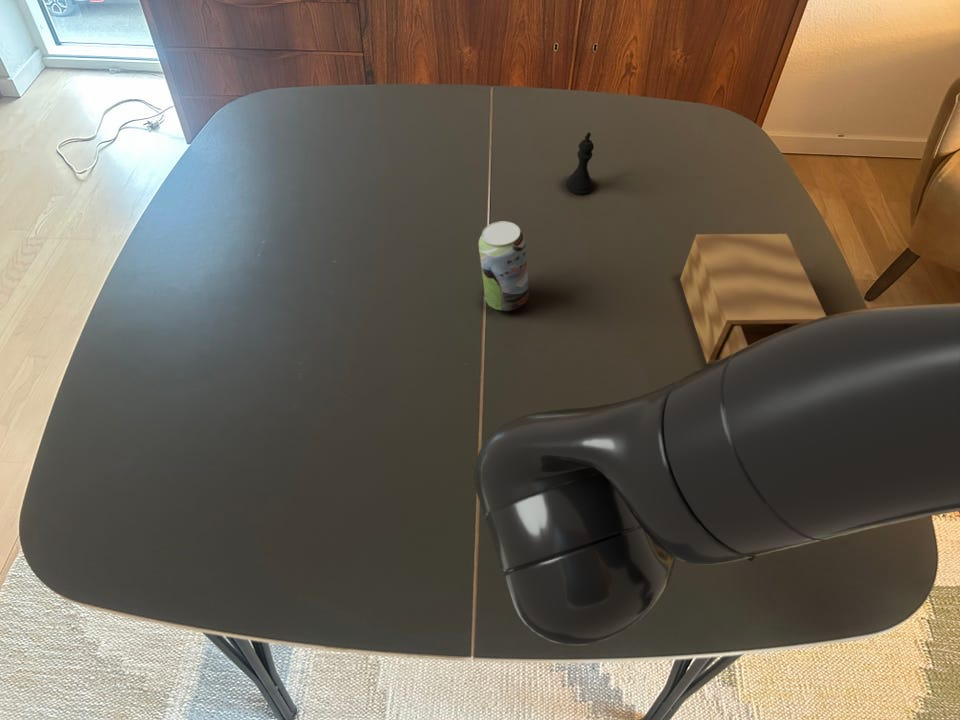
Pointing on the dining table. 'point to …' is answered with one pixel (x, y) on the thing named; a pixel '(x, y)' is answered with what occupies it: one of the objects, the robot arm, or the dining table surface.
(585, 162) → the chess piece
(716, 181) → the dining table surface
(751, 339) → the drawer
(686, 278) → the cabinet
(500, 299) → the beverage can
